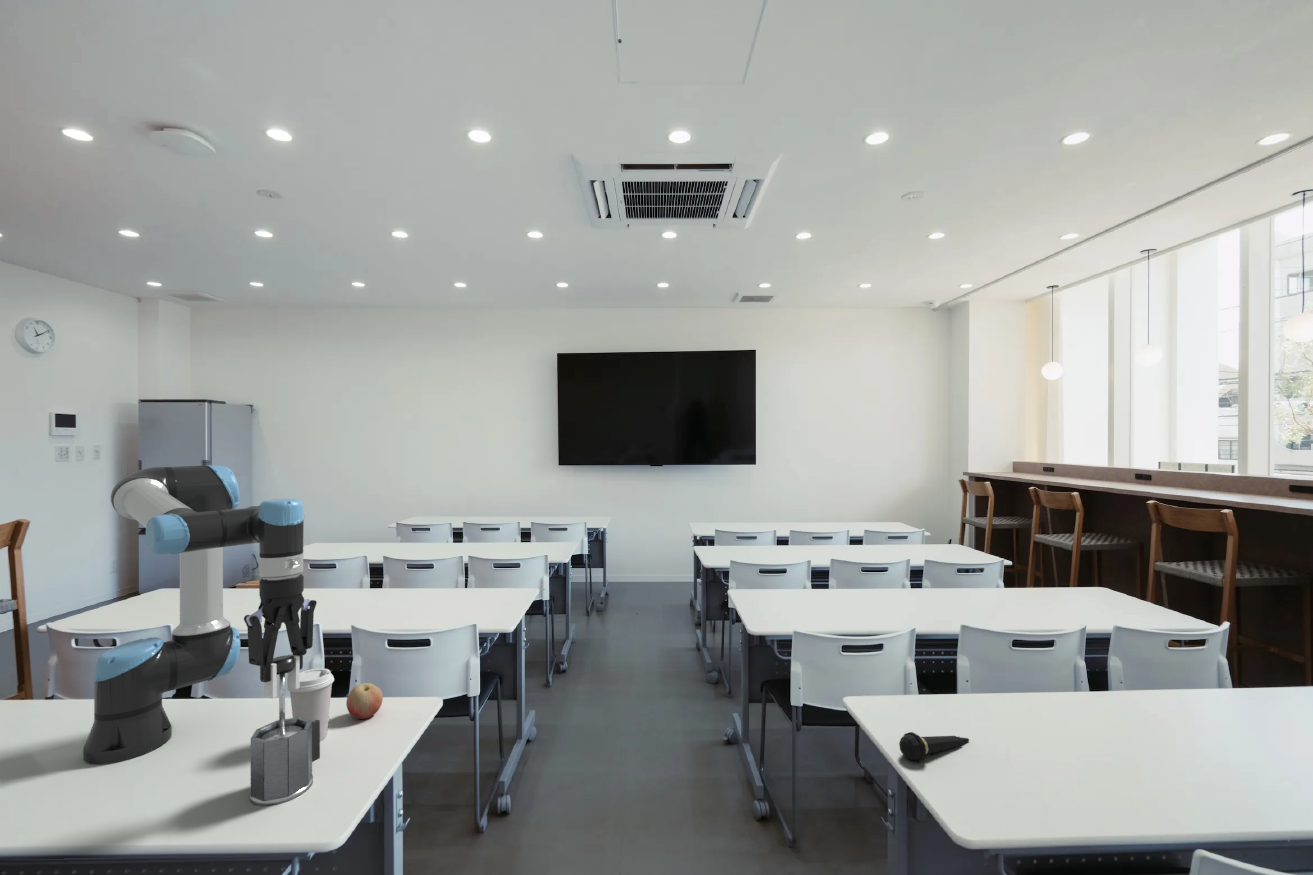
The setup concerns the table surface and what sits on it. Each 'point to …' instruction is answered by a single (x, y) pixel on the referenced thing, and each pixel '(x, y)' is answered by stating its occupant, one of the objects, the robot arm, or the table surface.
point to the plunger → (282, 700)
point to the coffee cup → (313, 697)
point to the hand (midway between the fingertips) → (282, 691)
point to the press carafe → (283, 762)
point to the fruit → (364, 700)
